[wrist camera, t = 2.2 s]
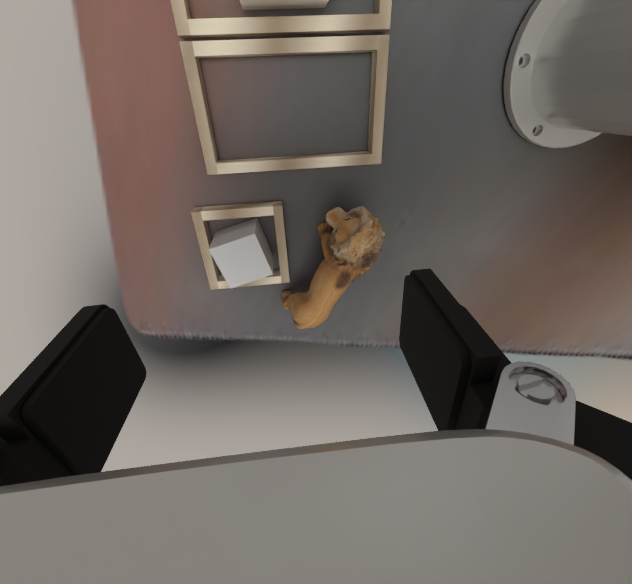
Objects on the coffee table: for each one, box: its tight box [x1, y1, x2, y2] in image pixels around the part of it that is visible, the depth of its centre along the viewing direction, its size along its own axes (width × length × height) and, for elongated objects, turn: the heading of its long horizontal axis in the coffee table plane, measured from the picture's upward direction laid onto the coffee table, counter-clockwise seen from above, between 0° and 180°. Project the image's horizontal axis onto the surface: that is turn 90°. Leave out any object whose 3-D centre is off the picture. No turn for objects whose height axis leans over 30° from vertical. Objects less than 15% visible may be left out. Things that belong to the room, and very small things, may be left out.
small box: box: [191, 201, 290, 290], centre depth 29 cm, size 8×8×1 cm
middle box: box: [179, 35, 390, 175], centre depth 24 cm, size 14×8×1 cm, turn 92°
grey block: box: [209, 218, 273, 289], centre depth 28 cm, size 4×4×4 cm
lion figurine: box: [281, 206, 385, 329], centre depth 28 cm, size 15×5×9 cm, turn 160°
